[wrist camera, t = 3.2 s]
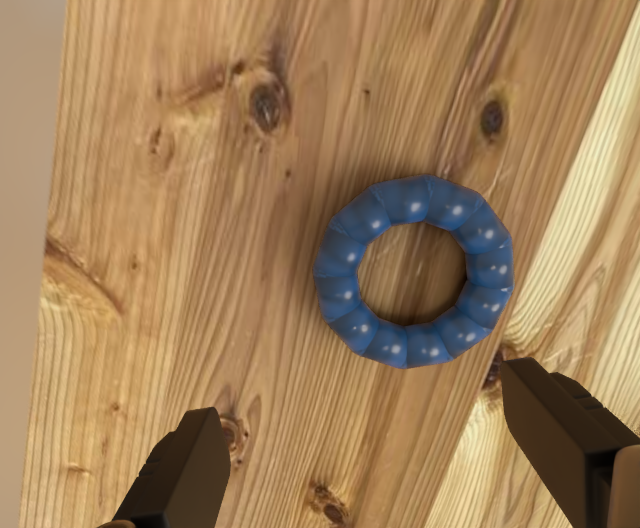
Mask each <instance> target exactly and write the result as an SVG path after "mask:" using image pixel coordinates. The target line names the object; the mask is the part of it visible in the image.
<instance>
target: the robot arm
mask: <svg viewBox="0 0 640 528" xmlns="http://www.w3.org/2000/svg"><path fill="white" fill-rule="evenodd" d="M501 382H502V394H503V407H504V415H505V419H506V422H507V425H508V428H509V430H510V432H511V434H512V436H513V437H514V439H515V440H516V442H517V443H518V445H519V446H520V448H521V449H522V451H523V452H524V454H525V455H526V457H527V458H528V460H529V461H530V463H531V464H532V466H533V468H534V469H535V471H536V472H537V474H538V475H539V477H540V478H541V480H542V481H543V483H544V484H545V486H546V487H547V489H548V490H549V492H550V493H551V495H552V496H553V498H554V499H555V501H556V502H557V504H558V505H559V507H560V508H561V510H562V511H563V513H564V514H565V516H566V517H567V519H568V520H569V522H570V523H571V525H572V526H573V528H640V438H639V437H638V436H637V435H636V434H634V433H633V432H632V431H631V430H630V429H629V428H628V427H627V426H626V425H625V424H623V423H622V422H621V421H620V420H619V419H618V418H617V417H616V416H615V415H613V414H612V413H611V412H610V411H609V410H608V409H607V408H606V407H605V408H604V407H603V405H602V404H601V403H600V402H599V401H598V400H597V399H596V398H595V397H592V396H591V394H590V393H589V392H588V391H587V390H586V389H585V388H584V387H583V386H581V385H580V384H579V383H578V382H577V381H575V380H573V379H571V378H569V377H566V376H564V375H562V374H560V373H558V372H555V373H548V372H547V371H546V370H545V369H544V368H543V367H542V366H541V365H540V364H539V363H538V362H537V361H536V360H535V359H534V358H532V357H526V358H520V359H514V360H507V361H502V363H501ZM230 467H231V462H230V454H229V449H228V446H227V443H226V439H225V436H224V432H223V429H222V425H221V422H220V418H219V415H218V412H217V410H216V408H215V407H208V408H202V409H196V410H189V411H187V412H186V413H185V414H184V416H183V418H182V420H181V422H180V424H179V425H178V427H177V429H176V431H173V432H169V433H168V434H167V435H166V436H165V437H164V438H163V439H162V440H161V441H160V442H159V443H157V444H156V445H155V446H154V448H153V450H152V452H151V453H150V455H149V457H148V459H147V460H146V464H144V466H143V467H142V469H141V471H140V472H139V477H137V478H136V479H135V481H134V483H133V485H132V486H131V488H130V490H129V492H128V493H127V495H126V497H125V498H124V500H123V502H122V504H121V505H120V507H119V509H118V511H117V512H116V514H115V516H114V517H113V519H112V521H111V522H108V523H105V524H103V525H101V526H99V527H97V528H214V527H215V524H216V520H217V517H218V514H219V510H220V507H221V503H222V500H223V497H224V493H225V490H226V486H227V483H228V479H229V476H230Z"/></svg>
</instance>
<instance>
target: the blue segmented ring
mask: <svg viewBox="0 0 640 528" xmlns="http://www.w3.org/2000/svg"><path fill="white" fill-rule="evenodd" d="M420 221H422V222H425V223H428V224H431V225H433V226H436V227H439V228H442V229H445V230H447V231H449V232H450V234H451V235H452V236H453V238H454V239H455V240H456V241H457V243H458V244H459V245H460V246H461V248H462V249H463V250H464V252H465V259H466V270H467V280H466V283H465V285H464V287H463V289H462V291H461V293H460V295H459V297H458V300H457V302H456V304H455V305H454V306H452V307H451V308H450V309H448V310H447V311H446V312H444V313H443V314H441V315H440V316H439V317H437V318H436V319H435V320H433V321H432V322H427V323H421V324H415V325H409V326H401V325H398V324H395V323H392V322H389V321H386V320H383V319H380V318H378V317H377V316H376V315H375V314H374V312H373V311H372V310H371V309H370V308H369V307H368V306H367V304H366V303H365V302H364V301H363V300H362V299H361V294H360V288H359V282H358V276H357V271H358V269H359V266H360V263H361V261H362V258H363V256H364V253H365V251H366V248H367V246H368V245H369V244H370V243H372V242H373V241H374V240H375V239H377V238H378V237H379V236H380V235H382V234H383V233H384V232H385V231H387V230H388V229H389V228H390V227H392V226H397V225H403V224H409V223H414V222H420ZM313 277H314V282H315V287H316V292H317V297H318V302H319V307H320V312H321V315H322V318H323V319H324V321H325V322H326V323H327V324H328V325H329V326H330V328H331V329H332V330H333V331H334V332H335V333H336V334H337V335H338V336H339V337H340V338H341V340H342V341H343V342H344V343H345V344H346V345H347V346H348V347H349V348H350V349H351V350H352V351H353V352H354V353H355V354H357V355H359V356H362V357H365V358H368V359H371V360H374V361H377V362H380V363H383V364H386V365H389V366H392V367H395V368H399V369H409V368H415V367H421V366H428V365H434V364H440V363H446V362H450V361H452V360H454V359H456V358H457V357H458V356H460V355H461V354H463V353H464V352H465V351H467V350H468V349H470V348H471V347H472V346H474V345H475V344H477V343H478V342H479V341H481V340H482V339H484V338H485V337H487V336H488V335H489V334H490V333H491V332H492V331H493V330H494V328H495V326H496V324H497V322H498V320H499V318H500V316H501V314H502V312H503V310H504V308H505V306H506V304H507V302H508V300H509V298H510V296H511V294H512V292H513V290H514V286H515V278H514V263H513V247H512V238H511V235H510V233H509V231H508V230H507V229H506V227H505V226H504V225H503V223H502V222H501V221H500V219H499V218H498V217H497V215H496V214H495V213H494V211H493V210H492V208H491V207H490V206H489V204H488V203H487V202H486V200H485V199H484V198H483V197H482V196H481V195H480V194H479V193H478V192H476V191H474V190H471V189H468V188H466V187H463V186H460V185H458V184H455V183H452V182H450V181H447V180H444V179H441V178H439V177H436V176H433V175H429V174H422V175H416V176H410V177H405V178H400V179H394V180H389V181H384V182H378V183H375V184H372V185H370V186H369V187H368V188H366V189H365V190H364V191H363V192H361V193H360V194H359V195H358V196H357V197H355V198H354V199H353V200H352V201H351V202H350V203H348V204H347V205H346V206H345V207H344V208H342V209H341V210H340V211H339V212H338V213H337V214H335V215H334V216H333V217H332V218H331V220H330V221H329V223H328V226H327V228H326V231H325V234H324V237H323V239H322V242H321V245H320V248H319V250H318V253H317V256H316V259H315V261H314V265H313Z"/></svg>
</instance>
